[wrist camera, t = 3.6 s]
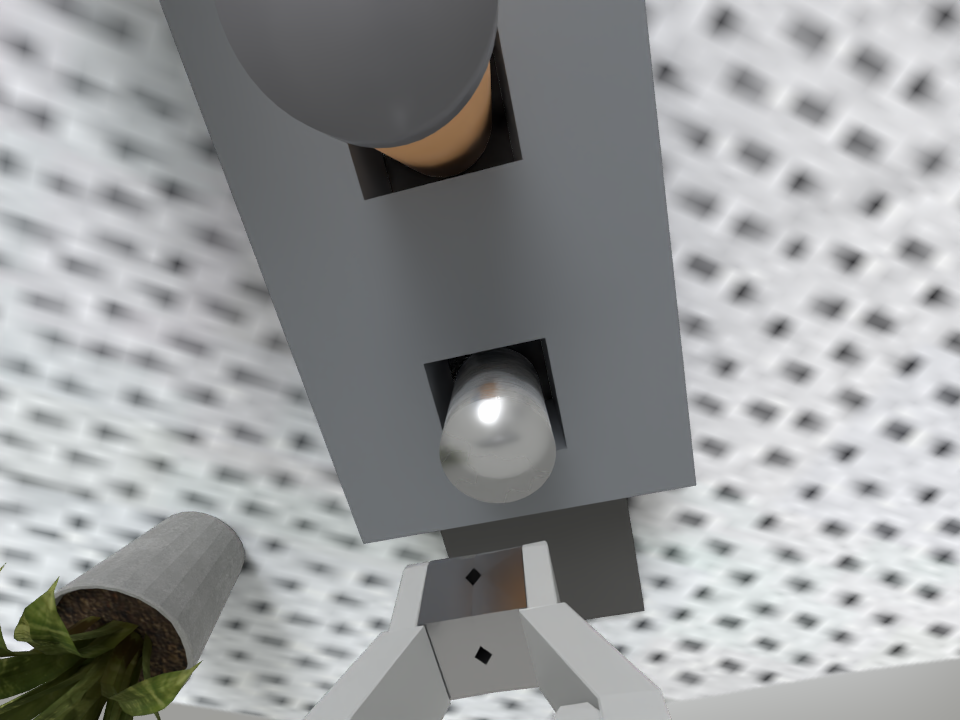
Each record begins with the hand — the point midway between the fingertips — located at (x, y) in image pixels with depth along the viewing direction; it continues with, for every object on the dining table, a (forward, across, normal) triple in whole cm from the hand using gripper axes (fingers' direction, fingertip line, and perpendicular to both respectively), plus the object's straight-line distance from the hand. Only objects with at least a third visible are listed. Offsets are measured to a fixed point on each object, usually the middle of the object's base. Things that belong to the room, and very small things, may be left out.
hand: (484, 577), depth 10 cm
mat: (+13, 0, +11) cm, 17 cm away
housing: (+13, 0, -6) cm, 15 cm away
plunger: (+10, 0, 0) cm, 10 cm away
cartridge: (+13, 0, -11) cm, 17 cm away
